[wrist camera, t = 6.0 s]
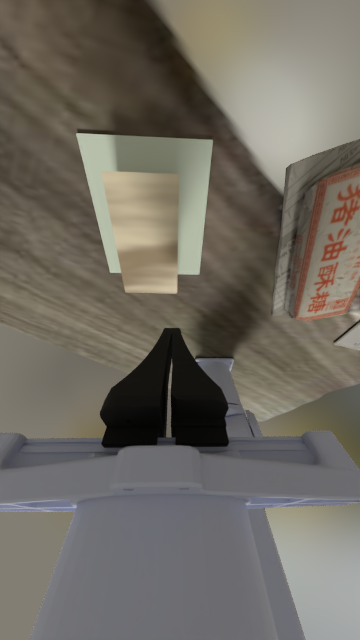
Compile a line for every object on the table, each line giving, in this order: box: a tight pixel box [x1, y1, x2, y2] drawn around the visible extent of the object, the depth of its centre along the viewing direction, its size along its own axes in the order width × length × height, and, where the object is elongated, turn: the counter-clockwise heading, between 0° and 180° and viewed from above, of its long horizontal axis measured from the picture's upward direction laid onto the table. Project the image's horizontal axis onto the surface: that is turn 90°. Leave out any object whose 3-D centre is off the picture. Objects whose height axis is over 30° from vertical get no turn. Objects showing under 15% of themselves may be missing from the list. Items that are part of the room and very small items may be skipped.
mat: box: [76, 133, 213, 275], centre depth 16 cm, size 12×12×1 cm
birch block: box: [101, 171, 179, 293], centre depth 16 cm, size 4×6×10 cm
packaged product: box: [271, 139, 360, 321], centre depth 17 cm, size 18×5×10 cm
